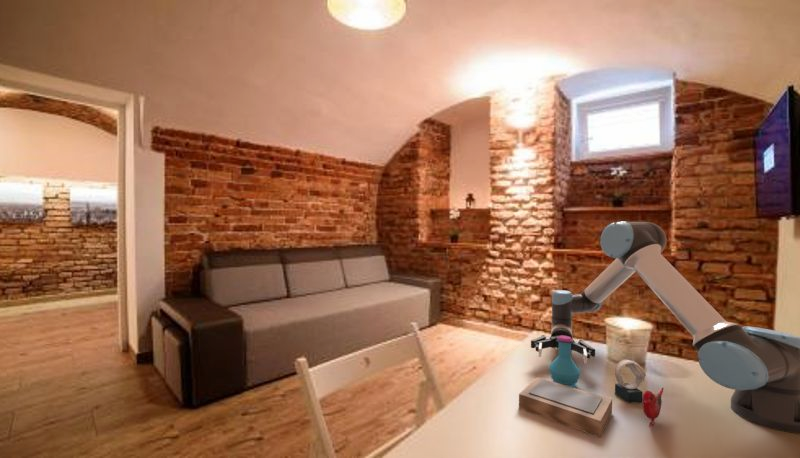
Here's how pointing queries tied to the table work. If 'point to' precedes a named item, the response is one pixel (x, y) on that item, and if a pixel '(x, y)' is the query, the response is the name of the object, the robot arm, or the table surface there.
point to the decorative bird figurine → (652, 405)
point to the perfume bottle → (564, 364)
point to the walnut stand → (567, 405)
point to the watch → (626, 389)
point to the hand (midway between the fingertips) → (562, 356)
